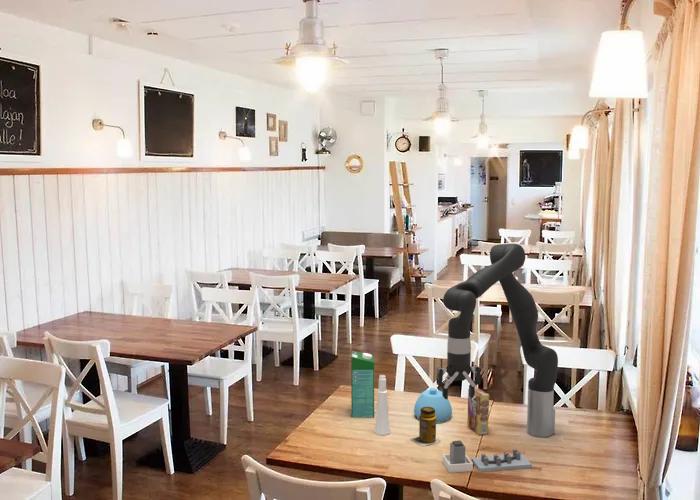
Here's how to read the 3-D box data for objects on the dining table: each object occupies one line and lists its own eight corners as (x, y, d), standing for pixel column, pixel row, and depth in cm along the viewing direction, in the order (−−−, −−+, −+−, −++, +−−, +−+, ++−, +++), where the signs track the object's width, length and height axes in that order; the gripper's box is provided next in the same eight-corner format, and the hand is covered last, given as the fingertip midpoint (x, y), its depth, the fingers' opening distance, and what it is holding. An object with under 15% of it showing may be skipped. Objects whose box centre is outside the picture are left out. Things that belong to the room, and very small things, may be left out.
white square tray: (464, 460, 228) (465, 453, 228) (472, 470, 220) (472, 463, 220) (442, 462, 227) (442, 454, 226) (449, 472, 219) (449, 465, 219)
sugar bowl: (425, 407, 278) (426, 380, 276) (458, 415, 269) (458, 387, 267) (407, 418, 266) (407, 390, 264) (440, 427, 257) (440, 398, 255)
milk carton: (374, 417, 266) (374, 356, 263) (351, 417, 267) (351, 356, 263) (373, 409, 275) (373, 350, 272) (351, 409, 276) (351, 350, 272)
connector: (461, 461, 226) (461, 439, 225) (465, 466, 222) (465, 444, 221) (449, 462, 225) (450, 440, 224) (453, 467, 221) (453, 445, 220)
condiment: (440, 441, 244) (441, 409, 242) (422, 447, 239) (423, 414, 237) (427, 434, 250) (428, 403, 248) (410, 440, 245) (410, 408, 243)
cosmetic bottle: (374, 429, 255) (374, 373, 252) (390, 429, 255) (390, 373, 252) (374, 435, 249) (374, 378, 246) (390, 435, 249) (390, 378, 246)
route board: (521, 457, 230) (522, 447, 229) (531, 467, 222) (531, 457, 222) (471, 461, 227) (471, 451, 227) (479, 471, 219) (479, 461, 219)
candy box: (489, 433, 250) (489, 394, 248) (478, 435, 249) (479, 395, 247) (476, 425, 258) (477, 387, 256) (466, 426, 257) (467, 388, 255)
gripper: (476, 345, 223) (475, 392, 225) (434, 347, 221) (434, 395, 223) (483, 352, 216) (483, 400, 218) (441, 354, 213) (440, 403, 216)
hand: (458, 397), depth 220 cm, fingers open, 8 cm apart
